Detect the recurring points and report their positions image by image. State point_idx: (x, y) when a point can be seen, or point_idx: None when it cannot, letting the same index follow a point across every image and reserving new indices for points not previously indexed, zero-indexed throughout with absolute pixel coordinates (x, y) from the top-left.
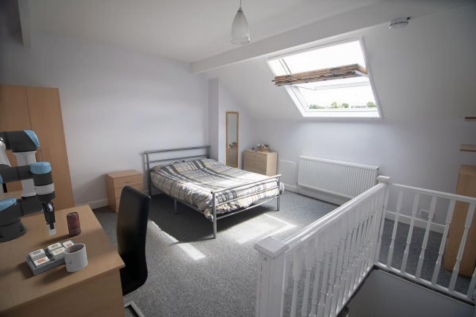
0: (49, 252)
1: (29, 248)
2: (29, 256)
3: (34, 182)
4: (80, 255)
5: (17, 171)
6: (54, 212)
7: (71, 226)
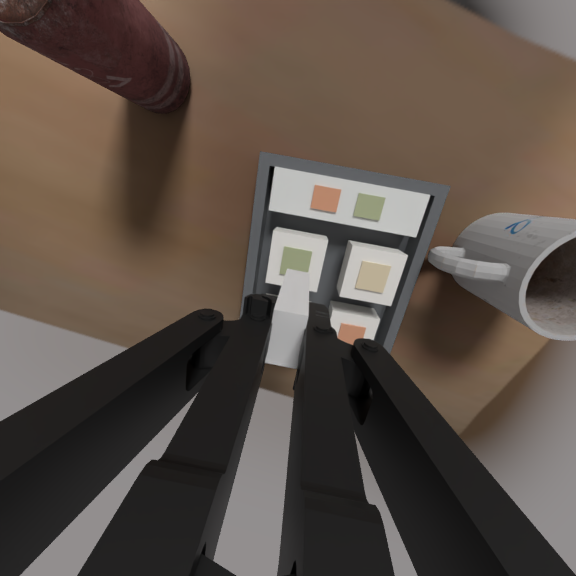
0: None
1: (136, 282)
2: None
3: None
4: None
5: None
6: (547, 542)
7: (141, 74)
